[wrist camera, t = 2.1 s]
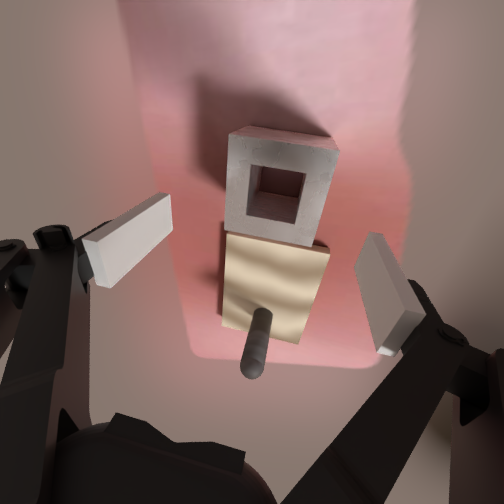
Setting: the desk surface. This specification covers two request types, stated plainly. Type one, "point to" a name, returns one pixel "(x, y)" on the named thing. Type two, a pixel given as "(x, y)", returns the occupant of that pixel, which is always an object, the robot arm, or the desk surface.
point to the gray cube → (269, 204)
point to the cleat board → (269, 292)
